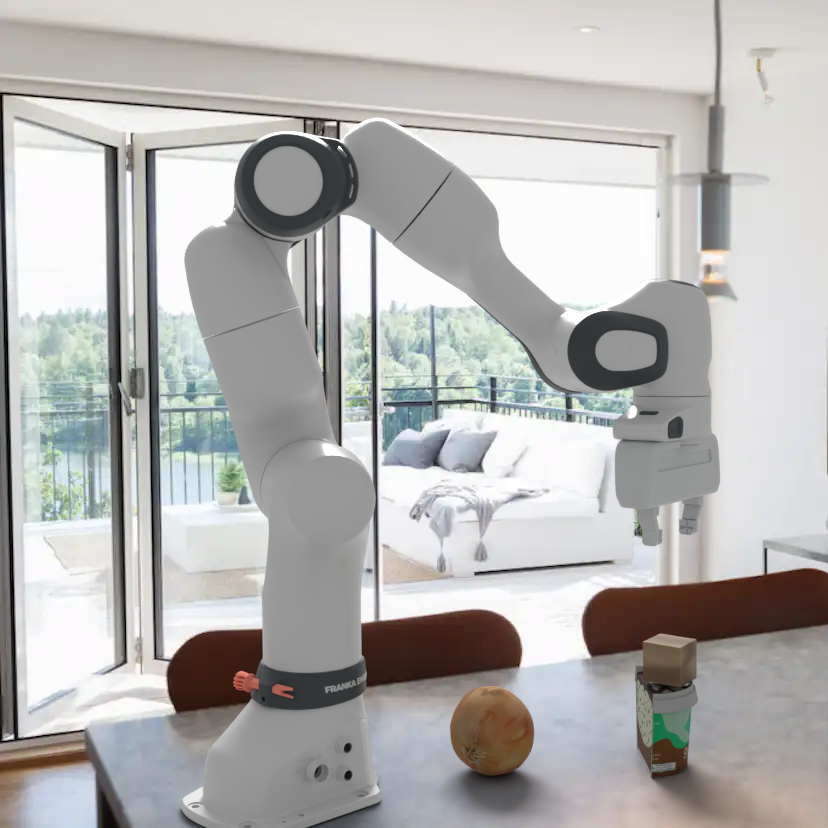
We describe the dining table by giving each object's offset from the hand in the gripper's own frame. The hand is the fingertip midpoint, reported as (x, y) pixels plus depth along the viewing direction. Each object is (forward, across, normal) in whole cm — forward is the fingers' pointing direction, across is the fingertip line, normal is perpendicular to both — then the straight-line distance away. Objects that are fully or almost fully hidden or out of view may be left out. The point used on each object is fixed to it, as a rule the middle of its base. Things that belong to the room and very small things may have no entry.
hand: (670, 539), depth 127 cm
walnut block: (+16, 0, 0) cm, 16 cm away
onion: (+27, +15, -15) cm, 34 cm away
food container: (+27, 0, 0) cm, 27 cm away
